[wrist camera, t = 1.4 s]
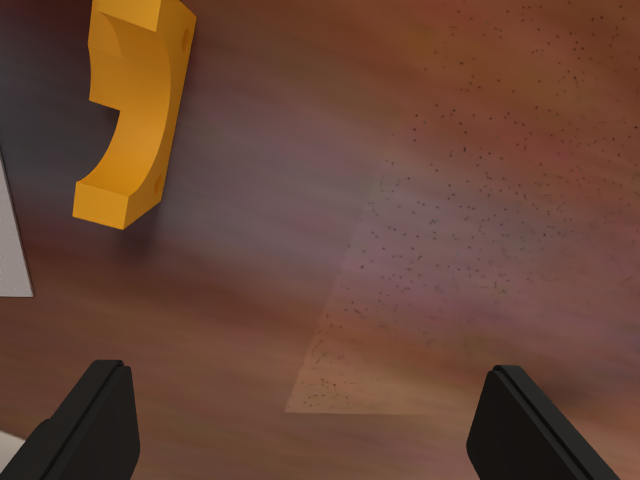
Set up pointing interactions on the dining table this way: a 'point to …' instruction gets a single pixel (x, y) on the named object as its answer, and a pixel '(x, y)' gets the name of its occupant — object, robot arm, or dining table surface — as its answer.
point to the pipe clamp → (134, 103)
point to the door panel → (11, 247)
